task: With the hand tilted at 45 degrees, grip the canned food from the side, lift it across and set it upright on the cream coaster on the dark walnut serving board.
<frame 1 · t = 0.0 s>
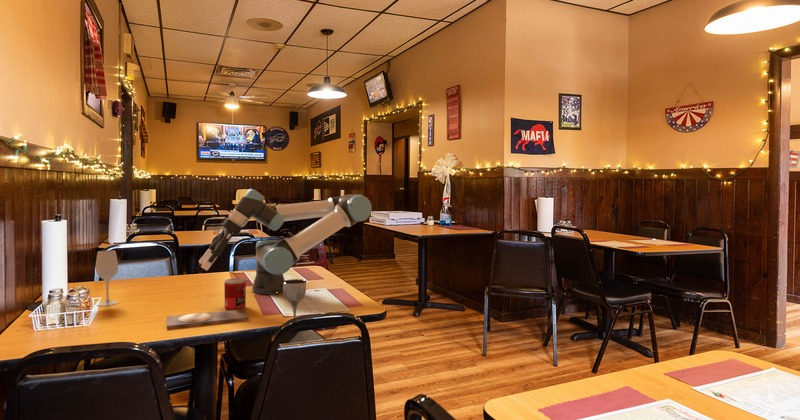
hand: (202, 266, 190), 15 cm above the table, tool tilted 35°, fingers open, 13 cm apart
serving board: (207, 320, 168), on the table
wine glass: (294, 324, 166), on the table
canned food: (235, 308, 185), on the table
wineglass: (107, 304, 189), on the table
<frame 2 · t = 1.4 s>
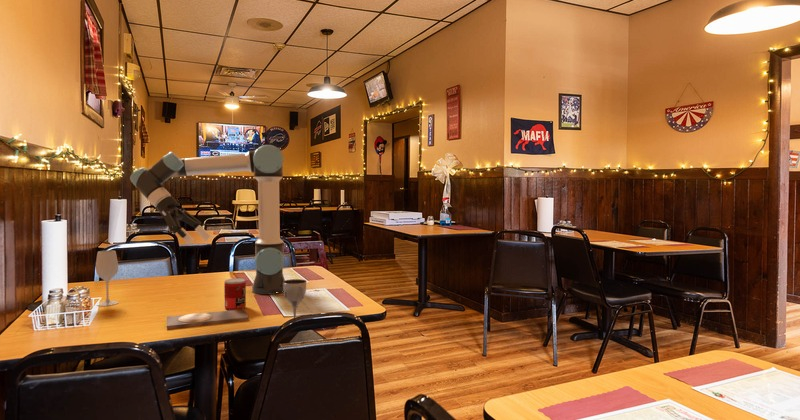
hand: (200, 240, 187), 26 cm above the table, tool tilted 45°, fingers open, 13 cm apart
nothing on the table moved.
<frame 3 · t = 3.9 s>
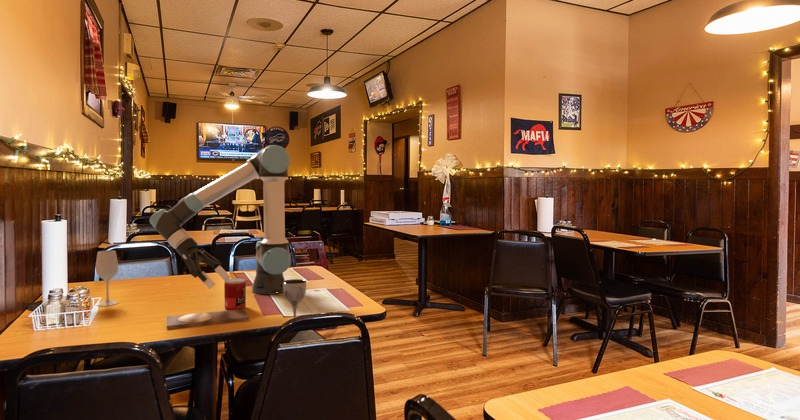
hand: (220, 282, 184), 10 cm above the table, tool tilted 45°, fingers open, 13 cm apart
nothing on the table moved.
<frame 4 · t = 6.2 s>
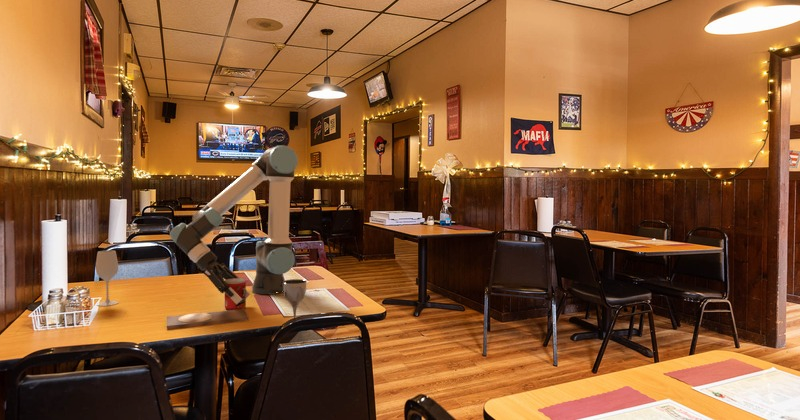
hand: (243, 299, 185), 4 cm above the table, tool tilted 45°, fingers closed on canned food, 8 cm apart
canned food: (235, 308, 185), on the table, touching gripper
everything else where it was.
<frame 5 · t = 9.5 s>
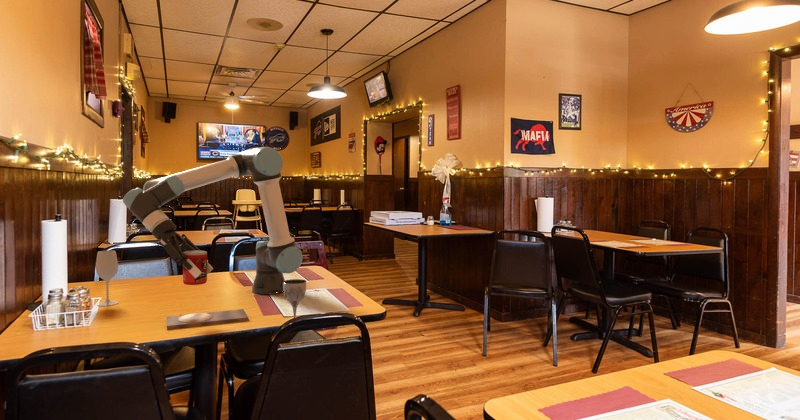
hand: (204, 273, 166), 17 cm above the table, tool tilted 45°, fingers closed on canned food, 8 cm apart
canned food: (195, 283, 166), point 13 cm above the table, touching gripper
everything else where it was.
when the fingers open (6 cm above the table, at t = 12.9 s): canned food stays where it is, resting on serving board.
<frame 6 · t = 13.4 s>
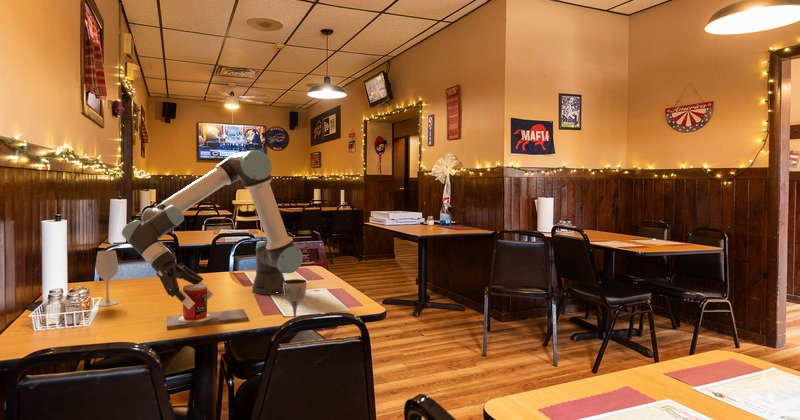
hand: (201, 301, 166), 7 cm above the table, tool tilted 45°, fingers open, 13 cm apart
canned food: (195, 317, 167), point 1 cm above the table, touching serving board
everything else where it was.
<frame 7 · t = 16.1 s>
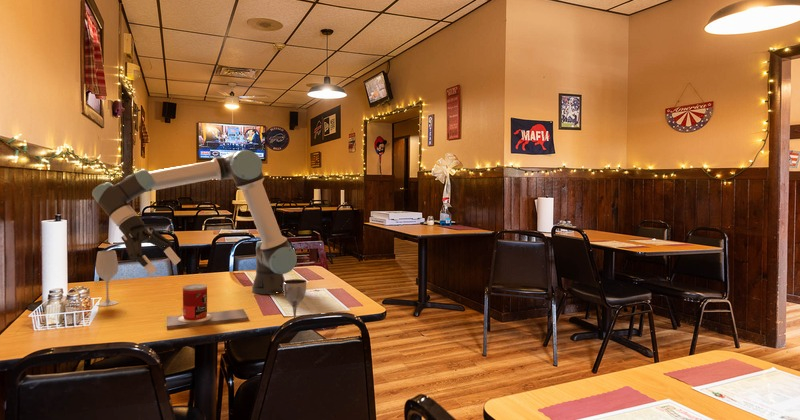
hand: (166, 267, 169), 18 cm above the table, tool tilted 40°, fingers open, 13 cm apart
nothing on the table moved.
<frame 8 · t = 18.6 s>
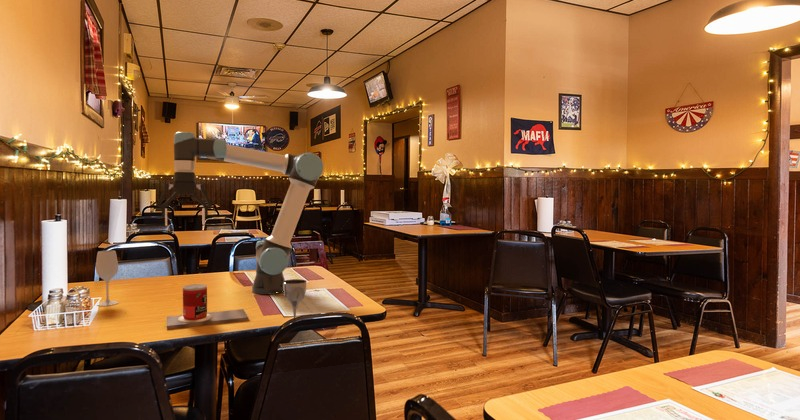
hand: (185, 225, 189), 32 cm above the table, tool pointing down, fingers open, 13 cm apart
nothing on the table moved.
at the end: canned food inside the target area on the serving board (0.1 cm from its centre), point 1.3 cm above the serving board's base; canned food tilted 0°; the gripper is holding nothing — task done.
